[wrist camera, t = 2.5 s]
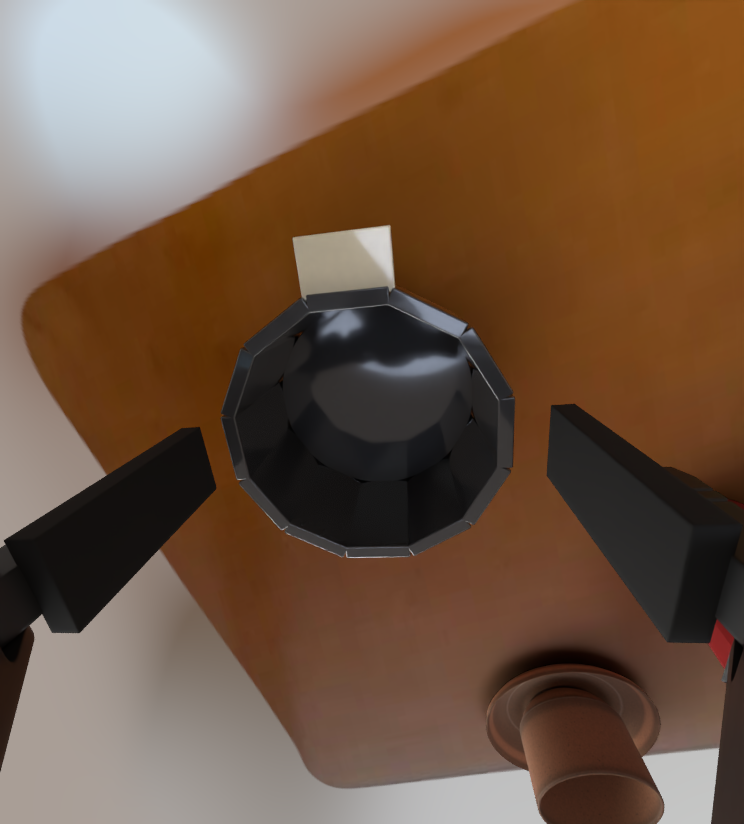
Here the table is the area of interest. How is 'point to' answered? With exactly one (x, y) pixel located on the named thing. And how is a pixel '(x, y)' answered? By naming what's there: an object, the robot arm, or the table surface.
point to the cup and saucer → (580, 743)
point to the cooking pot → (367, 408)
